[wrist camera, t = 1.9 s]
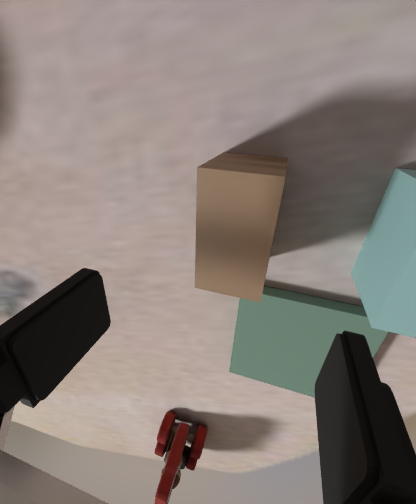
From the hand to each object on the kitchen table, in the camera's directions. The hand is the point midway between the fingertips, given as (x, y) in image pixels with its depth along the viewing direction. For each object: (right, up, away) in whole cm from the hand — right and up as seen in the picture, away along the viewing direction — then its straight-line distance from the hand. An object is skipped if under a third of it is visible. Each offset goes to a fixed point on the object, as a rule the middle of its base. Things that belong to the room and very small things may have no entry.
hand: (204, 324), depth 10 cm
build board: (+9, -6, +15) cm, 18 cm away
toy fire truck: (-4, -26, +31) cm, 41 cm away
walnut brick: (+3, +6, +10) cm, 12 cm away
